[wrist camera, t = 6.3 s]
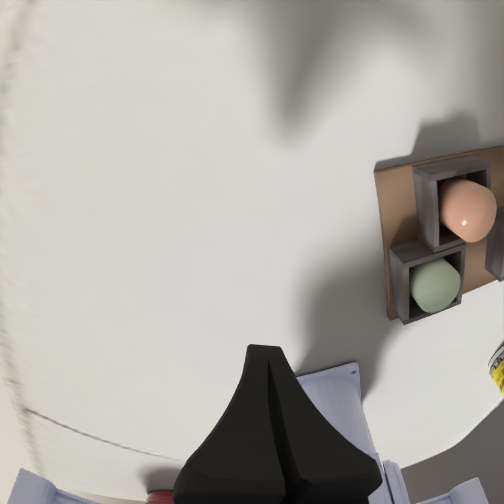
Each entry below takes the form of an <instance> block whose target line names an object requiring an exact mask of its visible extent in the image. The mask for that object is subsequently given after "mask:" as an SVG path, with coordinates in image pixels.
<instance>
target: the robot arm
mask: <svg viewBox="0 0 504 504" xmlns="http://www.w3.org/2000/svg"><path fill="white" fill-rule="evenodd" d="M383 467H384V471H385V476H384V472H383V469H382V466H381V462H380V459H379V456H378V453H376V451H375V447H374V444H373V441H372V437H371V434H370V431H369V428H368V424H367V421H366V418H365V415H364V412H363V409H362V405H361V392H360V376H359V366H358V363H356V362H353V363H349V364H346V365H342V366H339V367H335V368H331V369H327V370H324V371H320V372H316V373H312V374H308V375H304V376H300V377H296V376H295V375H294V373H293V371H292V369H291V367H290V365H289V363H288V361H287V359H286V357H285V355H284V353H283V351H282V349H281V347H279V346H266V345H254V344H250V345H248V347H247V352H246V357H245V363H244V368H243V373H242V376H241V379H240V382H239V384H238V386H237V389H236V391H235V393H234V395H233V397H232V399H231V401H230V403H229V405H228V407H227V408H226V410H225V412H224V414H223V415H222V417H221V418H220V420H219V421H218V423H217V424H216V426H215V427H214V429H213V430H212V431H211V433H210V434H209V435H208V437H207V438H206V439H205V441H204V442H203V443H202V444H201V445H200V447H199V448H198V449H197V450H196V451H195V452H194V453H193V454H192V455H191V456H190V457H189V459H188V460H187V462H186V464H185V465H184V467H183V468H182V470H181V472H180V474H179V475H178V477H177V479H176V482H175V485H174V490H173V503H174V504H410V502H409V498H408V494H407V490H406V487H405V483H404V480H403V477H402V474H401V471H400V469H399V466H398V464H397V463H394V462H391V461H390V460H386V461H383ZM385 477H386V479H385ZM386 481H387V482H386ZM7 504H101V503H97V502H94V501H91V500H88V499H85V498H82V497H79V496H76V495H73V494H70V493H68V492H65V491H63V490H60V489H57V488H56V486H55V485H54V484H53V483H52V482H51V481H49V480H47V479H45V478H43V477H41V476H39V475H37V474H34V473H32V472H30V471H28V470H26V469H23V468H21V469H20V471H19V473H18V476H17V478H16V481H15V484H14V487H13V489H12V492H11V495H10V497H9V501H8V503H7ZM417 504H488V501H487V499H486V496H485V494H484V491H483V489H482V486H481V483H480V481H479V479H478V478H477V477H476V478H474V479H471V480H469V481H467V482H464V483H462V484H460V485H458V486H456V487H455V488H453V489H452V490H451V491H450V492H449V493H447V494H444V495H441V496H438V497H436V498H432V499H429V500H426V501H423V502H420V503H417Z"/></svg>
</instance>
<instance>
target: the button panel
mask: <svg viewBox="0 0 504 504" xmlns="http://www.w3.org/2000/svg"><path fill="white" fill-rule="evenodd" d="M454 176H461V177H464V178H466V179H468V180H470V181H473V182H475V183H477V184H479V185H481V186H484V187H486V188H488V189H489V190H490V191H491V192H492V193H493V195H494V197H495V200H496V205H497V211H496V217H495V221H494V224H493V226H492V228H491V230H490V231H489V232H488V234H487V235H486V236H485V237H484V238H482V239H481V240H479V241H477V242H472V243H471V242H466V241H464V240H463V239H462V238H461V237H459V236H458V235H457V234H455V233H454V232H453V231H451V230H450V229H448V228H447V227H446V226H444V225H443V224H442V223H441V222H440V221H439V214H438V195H437V192H438V190H439V188H440V187H441V185H442V184H443V183H444V182H445V181H446V180H447V179H449V178H451V177H454ZM374 177H375V183H376V189H377V196H378V203H379V211H380V219H381V228H382V237H383V247H384V258H385V272H386V288H387V311H388V318H389V319H390V320H393V319H396V318H400V320H401V321H402V323H403V325H406V324H408V323H411V322H414V321H417V320H420V319H422V318H425V317H428V316H431V315H433V314H436V313H438V312H441V311H444V310H446V309H449V308H451V307H454V306H456V305H459V304H461V298H462V294H464V293H467V292H469V291H472V290H474V289H476V288H479V287H481V286H483V285H486V284H488V283H490V282H493V281H495V280H498V281H499V282H501V281H503V280H504V146H500V147H493V148H488V149H482V150H476V151H470V152H465V153H460V154H454V155H449V156H444V157H439V158H434V159H429V160H424V161H419V162H414V163H409V164H404V165H400V166H395V167H391V168H386V169H382V170H377V171H374ZM440 257H442V258H443V259H445V260H446V261H447V262H448V263H449V264H450V265H451V266H452V267H453V268H454V269H455V270H456V271H457V272H458V273H459V275H460V288H459V291H458V293H457V295H456V297H455V298H454V300H453V301H452V302H451V303H450V304H449V305H448V306H447V307H445V308H444V309H442V310H440V311H438V312H434V313H428V312H425V311H423V310H422V309H421V308H420V306H419V305H418V303H417V302H416V301H415V299H414V298H413V297H412V295H411V294H410V293H409V268H410V267H413V266H416V265H419V264H422V263H425V262H428V261H431V260H434V259H437V258H440Z"/></svg>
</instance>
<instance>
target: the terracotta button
mask: <svg viewBox="0 0 504 504" xmlns="http://www.w3.org/2000/svg"><path fill="white" fill-rule="evenodd" d="M437 195H438V214H439V221H440V222H441V223H442V224H443V225H444V226H446V227H447V228H448V229H450V230H451V231H453V232H454V233H455V234H457V235H458V236H459V237H461V238H462V239H463V240H464V241H466V242H471V243H472V242H477V241H479V240H481V239H482V238H484V237H485V236H486V235H487V234H488V232H489V231H490V230H491V228H492V226H493V224H494V221H495V217H496V211H497V205H496V200H495V197H494V195H493V193H492V192H491V191H490V190H489V189H488V188H486V187H484V186H481V185H479V184H477V183H475V182H473V181H470V180H468V179H466V178H464V177H461V176H454V177H451V178H449V179H447V180H446V181H445V182H444V183H443V184H442V185H441V187H440V188H439V190H438V192H437Z"/></svg>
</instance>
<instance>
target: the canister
mask: <svg viewBox="0 0 504 504" xmlns="http://www.w3.org/2000/svg"><path fill="white" fill-rule="evenodd" d="M146 504H174V503H173V491H154V492H151V493H149V495H148V498H147V499H146Z"/></svg>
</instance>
